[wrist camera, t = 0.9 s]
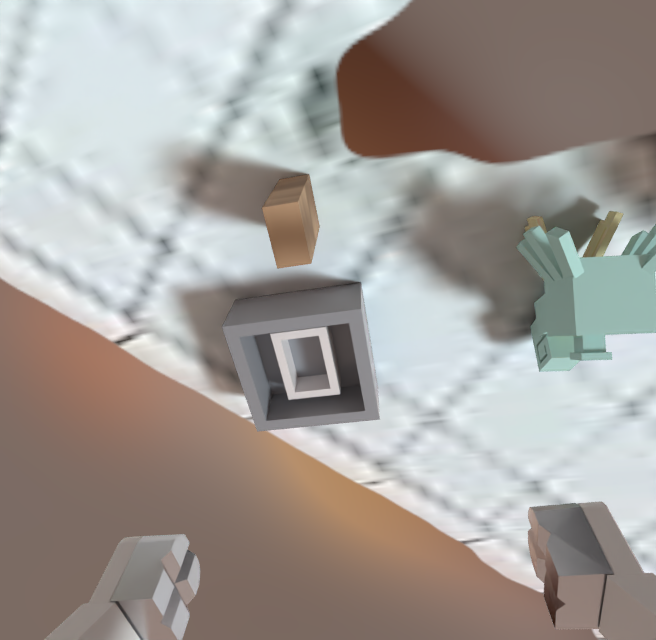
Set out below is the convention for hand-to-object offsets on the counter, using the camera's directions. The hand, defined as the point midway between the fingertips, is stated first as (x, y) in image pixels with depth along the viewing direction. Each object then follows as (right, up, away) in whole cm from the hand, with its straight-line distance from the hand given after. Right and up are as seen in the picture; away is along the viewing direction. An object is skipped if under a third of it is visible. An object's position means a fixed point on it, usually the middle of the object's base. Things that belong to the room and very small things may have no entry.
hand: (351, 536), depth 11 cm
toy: (+20, +9, +31) cm, 37 cm away
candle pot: (-2, +3, +35) cm, 36 cm away
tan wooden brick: (-3, +15, +28) cm, 32 cm away
